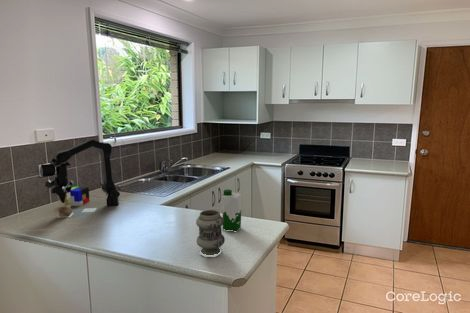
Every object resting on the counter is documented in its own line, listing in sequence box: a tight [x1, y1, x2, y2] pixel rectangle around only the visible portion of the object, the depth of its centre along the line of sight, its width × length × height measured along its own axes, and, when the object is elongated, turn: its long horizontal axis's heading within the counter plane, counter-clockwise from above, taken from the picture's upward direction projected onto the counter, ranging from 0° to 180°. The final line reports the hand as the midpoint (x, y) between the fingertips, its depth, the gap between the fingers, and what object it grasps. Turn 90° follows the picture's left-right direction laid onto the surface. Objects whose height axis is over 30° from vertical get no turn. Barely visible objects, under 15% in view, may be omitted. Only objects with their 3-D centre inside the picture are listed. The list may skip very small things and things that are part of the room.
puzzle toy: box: [65, 186, 90, 207], centre depth 212 cm, size 10×10×10 cm
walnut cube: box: [58, 204, 72, 218], centre depth 190 cm, size 5×5×5 cm
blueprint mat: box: [55, 207, 97, 219], centre depth 194 cm, size 18×14×1 cm
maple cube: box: [57, 192, 71, 205], centre depth 188 cm, size 5×5×5 cm
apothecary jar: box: [195, 209, 226, 255], centre depth 142 cm, size 12×12×18 cm
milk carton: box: [221, 189, 242, 232], centre depth 169 cm, size 9×9×20 cm
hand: (64, 201), depth 189 cm, fingers closed on maple cube, 5 cm apart
